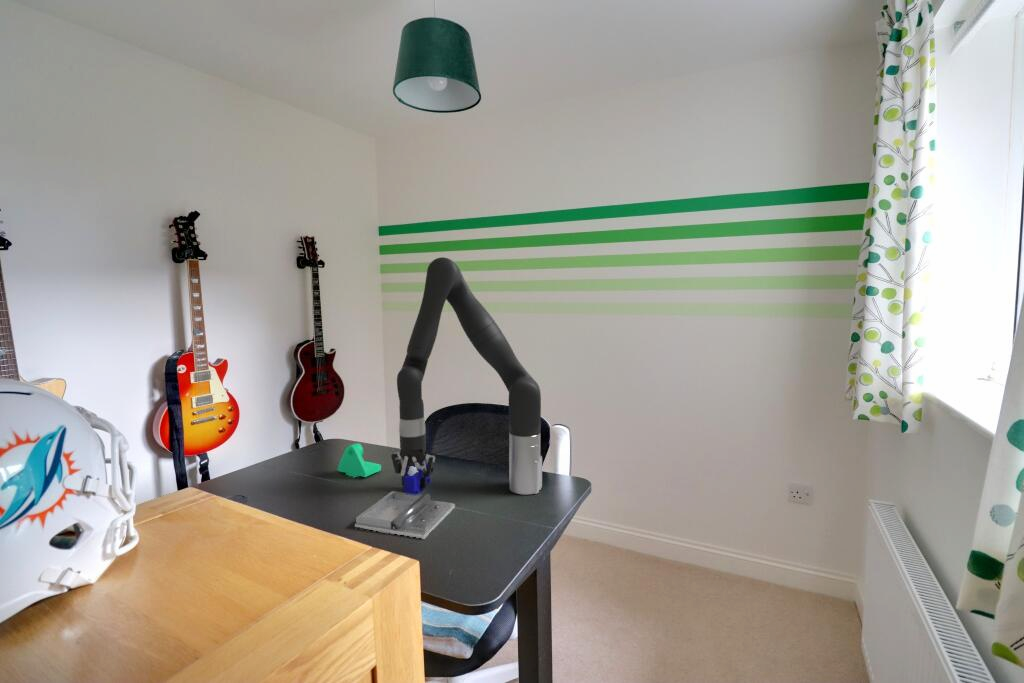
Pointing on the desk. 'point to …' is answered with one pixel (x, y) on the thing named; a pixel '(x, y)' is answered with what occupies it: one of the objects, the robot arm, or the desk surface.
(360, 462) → the camera mount
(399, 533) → the hinge plate
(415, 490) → the blue stepped long block
